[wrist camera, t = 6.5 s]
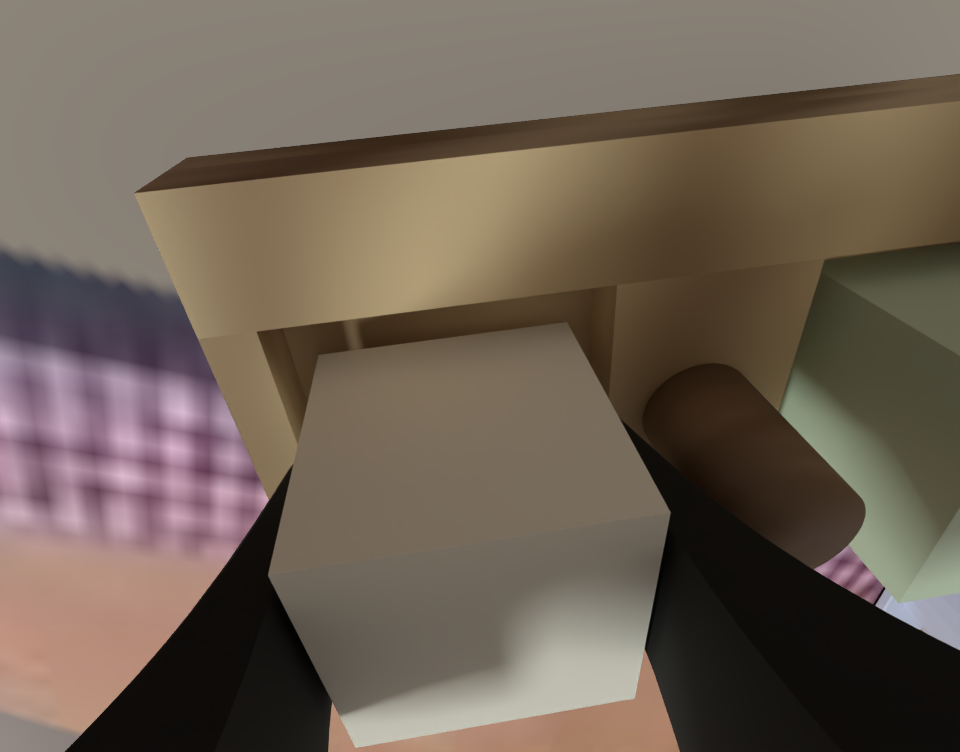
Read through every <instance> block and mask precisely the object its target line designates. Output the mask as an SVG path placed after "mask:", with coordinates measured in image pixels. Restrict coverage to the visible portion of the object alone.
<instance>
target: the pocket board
mask: <svg viewBox="0 0 960 752" xmlns="http://www.w3.org/2000/svg"><path fill="white" fill-rule="evenodd" d="M134 195H135V197H136V199H137V202H138V204H139V206H140V208H141V211H142V213H143V215H144V217H145V220H146V222H147V224H148V227H149V229H150V231H151V233H152V236H153V238H154V240H155V243H156V245H157V247H158V249H159V252H160V254H161V256H162V258H163V260H164V263H165V265H166V268H167V270H168V272H169V274H170V277H171V279H172V281H173V283H174V286H175V288H176V290H177V292H178V295H179V297H180V299H181V302H182V304H183V306H184V308H185V311H186V313H187V315H188V317H189V320H190V322H191V324H192V326H193V329H194V331H195V333H196V336H197V338H198V340H199V342H200V345H201V347H202V349H203V351H204V354H205V356H206V358H207V361H208V363H209V365H210V367H211V370H212V372H213V374H214V376H215V379H216V381H217V383H218V385H219V388H220V390H221V392H222V395H223V397H224V399H225V401H226V404H227V406H228V408H229V410H230V413H231V415H232V417H233V419H234V422H235V424H236V426H237V429H238V431H239V433H240V435H241V438H242V440H243V442H244V444H245V447H246V449H247V451H248V453H249V456H250V458H251V460H252V463H253V465H254V467H255V469H256V472H257V474H258V476H259V478H260V481H261V483H262V485H263V488H264V490H265V492H266V494H267V497H268V499H269V500H270V498H271V497H272V495H273V493H274V492H275V490H276V489H277V487H278V486H279V484H280V482H281V481H282V479H283V478H284V476H285V474H286V473H287V471H288V470H289V468H290V467H291V466H292V465H293V464H294V460H295V455H296V451H297V447H298V442H299V438H300V434H301V429H302V425H303V421H304V416H305V412H306V407H307V403H308V399H309V394H310V390H311V386H312V381H313V377H314V373H315V368H316V364H317V360H318V355H321V354H329V353H336V352H344V351H352V350H359V349H367V348H374V347H382V346H389V345H397V344H405V343H412V342H420V341H427V340H435V339H442V338H450V337H458V336H465V335H473V334H480V333H488V332H495V331H503V330H511V329H518V328H526V327H533V326H541V325H548V324H556V323H564V322H567V323H568V325H569V327H570V329H571V330H572V332H573V334H574V336H575V338H576V340H577V341H578V343H579V345H580V347H581V349H582V351H583V352H584V354H585V356H586V358H587V360H588V362H589V363H590V365H591V367H592V369H593V371H594V373H595V374H596V376H597V378H598V380H599V382H600V384H601V385H602V387H603V389H604V391H605V393H606V395H607V397H608V398H609V400H610V402H611V404H612V406H613V408H614V409H615V411H616V413H617V415H618V417H619V418H620V419H621V420H622V421H624V422H625V423H626V424H627V425H628V426H629V427H630V428H631V429H633V430H634V431H635V432H636V433H637V434H638V435H639V436H640V437H641V438H642V439H643V440H645V441H646V442H647V443H648V444H649V445H650V446H651V447H652V448H653V449H655V450H656V451H657V452H658V453H659V454H660V455H661V456H662V457H664V458H665V459H666V460H667V461H668V462H669V463H670V464H672V465H673V466H674V467H675V468H676V469H677V470H678V471H680V472H681V473H682V474H683V475H684V476H686V477H687V478H688V479H689V480H690V481H692V482H693V483H694V484H695V485H696V486H698V487H699V488H700V489H701V490H703V491H704V492H705V493H706V494H707V495H709V496H710V497H711V498H712V499H714V500H715V501H716V502H717V503H719V504H720V505H721V506H722V507H724V508H725V509H726V510H728V511H729V512H730V513H732V514H733V515H734V516H736V517H737V518H738V519H740V520H741V521H742V522H744V523H745V524H746V525H748V526H749V527H750V528H752V529H753V530H755V531H756V532H757V533H759V534H760V535H762V536H763V537H764V538H766V539H767V540H769V541H770V542H772V543H773V544H775V545H776V546H778V547H779V548H781V549H782V550H784V551H785V552H787V553H788V554H790V555H792V556H793V557H795V558H796V559H798V560H799V561H801V562H802V563H804V564H805V565H807V566H808V567H810V568H812V569H814V568H816V567H818V566H820V565H822V564H824V563H825V562H827V561H829V560H830V559H831V558H833V557H834V556H836V555H837V554H838V553H840V552H841V551H842V550H843V549H844V548H845V547H846V546H847V545H848V544H849V543H850V542H851V541H852V540H853V539H854V538H855V536H856V535H857V534H858V532H859V530H860V529H861V527H862V525H863V522H864V519H865V515H866V508H865V503H864V501H863V500H862V498H861V497H860V496H859V495H858V494H857V493H856V492H855V491H854V490H853V488H852V487H851V486H850V485H849V484H848V483H847V482H846V481H845V480H844V479H843V478H842V477H841V476H840V475H839V474H838V473H837V472H836V471H835V470H834V469H833V468H832V467H831V466H830V465H829V464H828V463H827V462H826V460H825V459H824V458H823V457H822V456H821V455H820V454H819V453H818V452H817V451H816V450H815V449H814V448H813V447H812V446H811V445H810V444H809V443H808V442H807V441H806V440H805V439H804V438H803V437H802V436H801V435H800V434H799V432H798V431H797V430H796V429H795V428H794V427H793V426H792V425H791V424H790V423H789V422H788V421H787V420H786V419H785V418H784V417H783V416H782V415H781V414H780V413H779V412H778V410H779V407H780V403H781V400H782V397H783V394H784V390H785V387H786V384H787V381H788V377H789V374H790V371H791V368H792V364H793V361H794V358H795V355H796V351H797V348H798V345H799V342H800V338H801V335H802V332H803V329H804V325H805V322H806V319H807V316H808V312H809V309H810V306H811V303H812V299H813V296H814V293H815V290H816V286H817V283H818V280H819V277H820V273H821V270H822V267H823V264H824V260H830V259H837V258H845V257H853V256H861V255H868V254H876V253H884V252H892V251H899V250H907V249H915V248H923V247H930V246H938V245H946V244H954V243H960V74H955V75H946V76H937V77H928V78H919V79H909V80H900V81H892V82H882V83H872V84H863V85H854V86H845V87H836V88H827V89H818V90H809V91H799V92H789V93H780V94H771V95H762V96H753V97H745V98H744V97H743V98H734V99H725V100H716V101H707V102H698V103H688V104H679V105H669V106H660V107H651V108H642V109H633V110H623V111H614V112H606V113H596V114H587V115H578V116H568V117H559V118H550V119H540V120H532V121H522V122H513V123H503V124H495V125H485V126H476V127H467V128H457V129H449V130H439V131H430V132H420V133H411V134H402V135H393V136H384V137H376V138H366V139H356V140H347V141H338V142H328V143H319V144H310V145H300V146H291V147H282V148H274V149H264V150H254V151H245V152H237V153H227V154H218V155H208V156H199V157H190V158H186V159H185V160H183V161H181V162H180V163H179V164H177V165H175V166H174V167H172V168H171V169H169V170H168V171H166V172H165V173H164V174H162V175H161V176H159V177H158V178H156V179H155V180H153V181H152V182H150V183H148V184H147V185H146V186H144V187H142V188H141V189H140V190H138V191H136V192H135V193H134Z"/></svg>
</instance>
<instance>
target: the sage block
mask: <svg viewBox="0 0 960 752" xmlns="http://www.w3.org/2000/svg"><path fill="white" fill-rule="evenodd" d="M778 412H779V413H780V414H781V415H782V416H783V417H784V418H785V419H786V420H787V421H788V422H789V423H790V424H791V425H792V426H793V427H794V428H795V429H796V430H797V431H798V432H799V434H800V435H801V436H802V437H803V438H804V439H805V440H806V441H807V442H808V443H809V444H810V445H811V446H812V447H813V448H814V449H815V450H816V451H817V452H818V453H819V454H820V455H821V456H822V457H823V458H824V459H825V460H826V462H827V463H828V464H829V465H830V466H831V467H832V468H833V469H834V470H835V471H836V472H837V473H838V474H839V475H840V476H841V477H842V478H843V479H844V480H845V481H846V482H847V483H848V484H849V485H850V486H851V487H852V488H853V490H854V491H855V492H856V493H857V494H858V495H859V496H860V497H861V498H862V500H863V501H864V503H865V508H866V515H865V519H864V522H863V525H862V527H861V529H860V530H859V532H858V534H857V535H856V536H855V538H854V539H853V540H852V541H851V542H850V543H849V544H848V545H849V546H850V547H851V549H852V550H853V551H854V552H855V553H856V554H857V556H858V557H859V558H860V559H861V560H862V561H863V563H864V564H865V565H866V566H867V567H868V568H869V570H870V571H871V572H872V573H873V574H874V576H875V577H876V578H877V579H878V580H879V581H880V583H881V584H882V585H883V586H884V587H885V588H886V590H887V591H888V592H889V593H890V594H891V595H892V597H893V598H894V599H895V600H896V601H897V602H898V604H899V603H905V602H910V601H916V600H922V599H928V598H934V597H939V596H945V595H951V594H957V593H960V243H954V244H946V245H938V246H930V247H923V248H915V249H907V250H899V251H892V252H884V253H876V254H868V255H861V256H853V257H845V258H837V259H830V260H824V264H823V267H822V270H821V273H820V277H819V280H818V283H817V286H816V290H815V293H814V296H813V299H812V303H811V306H810V309H809V312H808V316H807V319H806V322H805V325H804V329H803V332H802V335H801V338H800V342H799V345H798V348H797V351H796V355H795V358H794V361H793V364H792V368H791V371H790V374H789V377H788V381H787V384H786V387H785V390H784V394H783V397H782V400H781V403H780V407H779V410H778Z"/></svg>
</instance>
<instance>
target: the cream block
mask: <svg viewBox="0 0 960 752" xmlns="http://www.w3.org/2000/svg"><path fill="white" fill-rule="evenodd" d="M670 514H671V512H670V510H669V509H668V507H667V505H666V503H665V501H664V499H663V498H662V496H661V494H660V492H659V490H658V488H657V487H656V485H655V483H654V481H653V479H652V477H651V475H650V474H649V472H648V470H647V468H646V466H645V464H644V463H643V461H642V459H641V457H640V455H639V453H638V452H637V450H636V448H635V446H634V444H633V442H632V441H631V439H630V437H629V435H628V433H627V431H626V430H625V428H624V426H623V424H622V422H621V420H620V419H619V417H618V415H617V413H616V411H615V409H614V408H613V406H612V404H611V402H610V400H609V398H608V397H607V395H606V393H605V391H604V389H603V387H602V385H601V384H600V382H599V380H598V378H597V376H596V374H595V373H594V371H593V369H592V367H591V365H590V363H589V362H588V360H587V358H586V356H585V354H584V352H583V351H582V349H581V347H580V345H579V343H578V341H577V340H576V338H575V336H574V334H573V332H572V330H571V329H570V327H569V325H568V323H567V322H564V323H556V324H548V325H541V326H533V327H526V328H518V329H511V330H503V331H495V332H488V333H480V334H473V335H465V336H458V337H450V338H442V339H435V340H427V341H420V342H412V343H405V344H397V345H389V346H382V347H374V348H367V349H359V350H352V351H344V352H336V353H329V354H321V355H318V360H317V364H316V368H315V373H314V377H313V381H312V386H311V390H310V394H309V399H308V403H307V407H306V412H305V416H304V421H303V425H302V429H301V434H300V438H299V442H298V447H297V451H296V455H295V460H294V464H293V468H292V473H291V477H290V482H289V486H288V490H287V495H286V499H285V503H284V508H283V512H282V516H281V521H280V525H279V530H278V534H277V538H276V543H275V547H274V551H273V556H272V560H271V564H270V569H269V573H268V577H269V579H270V580H271V582H272V584H273V586H274V588H275V590H276V592H277V594H278V596H279V598H280V600H281V602H282V604H283V606H284V608H285V610H286V612H287V614H288V616H289V618H290V620H291V622H292V624H293V626H294V628H295V630H296V631H297V633H298V635H299V637H300V639H301V641H302V643H303V645H304V647H305V649H306V651H307V653H308V655H309V657H310V659H311V661H312V663H313V665H314V667H315V669H316V671H317V673H318V675H319V677H320V679H321V681H322V683H323V684H324V686H325V688H326V690H327V692H328V694H329V696H330V698H331V700H332V702H333V704H334V706H335V708H336V710H337V712H338V714H339V716H340V718H341V720H342V722H343V724H344V726H345V728H346V730H347V732H348V734H349V735H350V737H351V739H352V741H353V743H354V745H355V747H356V748H358V747H363V746H369V745H375V744H380V743H386V742H391V741H397V740H403V739H408V738H414V737H420V736H425V735H431V734H437V733H442V732H448V731H453V730H459V729H465V728H470V727H476V726H482V725H487V724H493V723H499V722H504V721H510V720H515V719H521V718H527V717H532V716H538V715H544V714H549V713H555V712H561V711H566V710H572V709H577V708H583V707H589V706H594V705H600V704H606V703H611V702H617V701H623V700H628V699H634V698H635V694H636V689H637V684H638V679H639V674H640V668H641V663H642V658H643V653H644V648H645V643H646V637H647V632H648V627H649V622H650V617H651V612H652V606H653V601H654V596H655V591H656V586H657V581H658V576H659V570H660V565H661V560H662V555H663V550H664V545H665V539H666V534H667V529H668V524H669V519H670Z"/></svg>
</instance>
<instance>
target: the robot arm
mask: <svg viewBox="0 0 960 752" xmlns="http://www.w3.org/2000/svg"><path fill="white" fill-rule="evenodd" d="M619 419H620V418H619ZM620 420H621V419H620ZM621 422H622V424H623V426H624V428H625V430H626V431H627V433H628V435H629V437H630V439H631V441H632V442H633V444H634V446H635V448H636V450H637V452H638V453H639V455H640V457H641V459H642V461H643V463H644V464H645V466H646V468H647V470H648V472H649V474H650V475H651V477H652V479H653V481H654V483H655V485H656V487H657V488H658V490H659V492H660V494H661V496H662V498H663V499H664V501H665V503H666V505H667V507H668V509H669V510H670V512H671V514H670V519H669V524H668V529H667V534H666V539H665V545H664V550H663V555H662V560H661V565H660V570H659V576H658V581H657V586H656V591H655V596H654V601H653V606H652V612H651V617H650V622H649V627H648V632H647V637H646V643H645V650H646V653H647V655H648V658H649V661H650V663H651V666H652V668H653V671H654V674H655V676H656V679H657V682H658V685H659V688H660V691H661V694H662V697H663V700H664V703H665V706H666V709H667V713H668V716H669V719H670V722H671V725H672V728H673V731H674V734H675V737H676V740H677V743H678V746H679V750H680V752H960V593H957V594H951V595H945V596H939V597H934V598H928V599H922V600H916V601H910V602H905V603H899V604H898V602H897V601H896V600H895V599H894V598H893V597H892V595H891V594H890V593H889V592H888V591H887V590H886V588H885V590H884V592H883V593H882V595H881V597H880V598H879V600H878V602H877V603H876V605H873V604H871V603H869V602H868V601H866V600H864V599H862V598H861V597H859V596H857V595H855V594H854V593H852V592H850V591H848V590H847V589H845V588H843V587H841V586H840V585H838V584H836V583H834V582H833V581H831V580H830V579H828V578H826V577H825V576H823V575H821V574H820V573H818V572H816V571H815V570H813V569H812V568H810V567H808V566H807V565H805V564H804V563H802V562H801V561H799V560H798V559H796V558H795V557H793V556H792V555H790V554H788V553H787V552H785V551H784V550H782V549H781V548H779V547H778V546H776V545H775V544H773V543H772V542H770V541H769V540H767V539H766V538H764V537H763V536H762V535H760V534H759V533H757V532H756V531H755V530H753V529H752V528H750V527H749V526H748V525H746V524H745V523H744V522H742V521H741V520H740V519H738V518H737V517H736V516H734V515H733V514H732V513H730V512H729V511H728V510H726V509H725V508H724V507H722V506H721V505H720V504H719V503H717V502H716V501H715V500H714V499H712V498H711V497H710V496H709V495H707V494H706V493H705V492H704V491H703V490H701V489H700V488H699V487H698V486H696V485H695V484H694V483H693V482H692V481H690V480H689V479H688V478H687V477H686V476H684V475H683V474H682V473H681V472H680V471H678V470H677V469H676V468H675V467H674V466H673V465H672V464H670V463H669V462H668V461H667V460H666V459H665V458H664V457H662V456H661V455H660V454H659V453H658V452H657V451H656V450H655V449H653V448H652V447H651V446H650V445H649V444H648V443H647V442H646V441H645V440H643V439H642V438H641V437H640V436H639V435H638V434H637V433H636V432H635V431H634V430H633V429H631V428H630V427H629V426H628V425H627V424H626V423H625V422H624V421H622V420H621ZM292 468H293V465H292V466H291V467H290V468H289V470H288V471H287V473H286V474H285V476H284V478H283V479H282V481H281V482H280V484H279V486H278V487H277V489H276V490H275V492H274V493H273V495H272V497H271V498H270V500H269V501H268V503H267V504H266V506H265V508H264V509H263V511H262V512H261V514H260V515H259V517H258V518H257V520H256V521H255V523H254V524H253V526H252V527H251V529H250V530H249V532H248V533H247V535H246V536H245V538H244V539H243V541H242V542H241V544H240V545H239V546H238V548H237V549H236V551H235V552H234V554H233V555H232V557H231V558H230V560H229V561H228V562H227V564H226V565H225V567H224V568H223V569H222V571H221V572H220V573H219V575H218V576H217V577H216V579H215V580H214V581H213V583H212V584H211V585H210V587H209V588H208V589H207V591H206V592H205V593H204V595H203V596H202V597H201V599H200V600H199V601H198V603H197V604H196V605H195V607H194V608H193V609H192V611H191V612H190V613H189V614H188V616H187V617H186V618H185V619H184V621H183V622H182V623H181V624H180V626H179V627H178V628H177V629H176V631H175V632H174V633H173V634H172V635H171V637H170V638H169V639H168V640H167V641H166V643H165V644H164V645H163V646H162V647H161V649H160V650H159V651H158V652H157V653H156V654H155V656H154V657H153V658H152V659H151V660H150V661H149V662H148V664H147V665H146V666H145V667H144V668H143V669H142V671H141V672H140V673H139V674H138V675H137V676H136V677H135V678H134V679H133V681H132V682H131V683H130V684H129V685H128V686H127V687H126V688H125V689H124V690H123V691H122V692H121V693H120V695H119V696H118V697H117V698H116V699H115V700H114V701H113V702H112V703H111V704H110V705H109V706H108V708H107V709H106V710H105V711H104V712H103V713H102V714H101V715H100V716H99V717H98V718H97V719H96V720H95V721H94V722H93V723H92V724H91V725H90V726H89V727H88V728H87V729H86V730H85V731H84V733H83V734H82V735H81V736H80V737H79V738H78V739H77V740H76V741H75V742H74V743H73V744H72V745H71V746H70V747H69V748H68V749H67V750H66V751H65V752H328V742H329V725H330V715H331V705H332V700H331V698H330V696H329V694H328V692H327V690H326V688H325V686H324V684H323V683H322V681H321V679H320V677H319V675H318V673H317V671H316V669H315V667H314V665H313V663H312V661H311V659H310V657H309V655H308V653H307V651H306V649H305V647H304V645H303V643H302V641H301V639H300V637H299V635H298V633H297V631H296V630H295V628H294V626H293V624H292V622H291V620H290V618H289V616H288V614H287V612H286V610H285V608H284V606H283V604H282V602H281V600H280V598H279V596H278V594H277V592H276V590H275V588H274V586H273V584H272V582H271V580H270V579H269V577H268V573H269V569H270V564H271V560H272V556H273V551H274V547H275V543H276V538H277V534H278V530H279V525H280V521H281V516H282V512H283V508H284V503H285V499H286V495H287V490H288V486H289V482H290V477H291V473H292ZM919 629H923V630H924V632H923V631H921V630H919Z"/></svg>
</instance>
